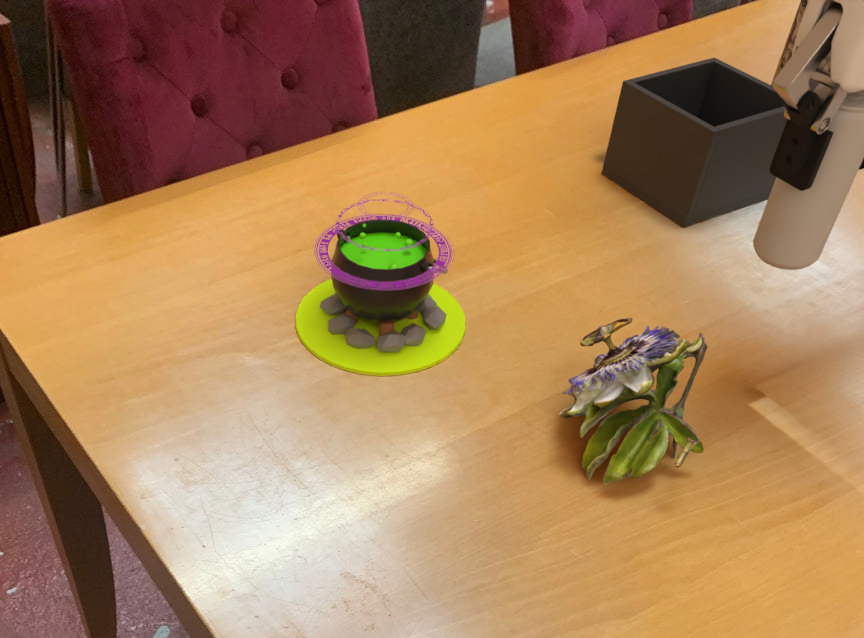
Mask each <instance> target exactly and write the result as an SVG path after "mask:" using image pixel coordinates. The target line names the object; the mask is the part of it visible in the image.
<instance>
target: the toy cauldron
mask: <svg viewBox="0 0 864 638" xmlns="http://www.w3.org/2000/svg"><path fill="white" fill-rule="evenodd" d="M392 194H393V196H394V197H395V196H397V198H400V199H402V200H403V201H402V200H397V199H394V200H392V202H394V203H397V204H404V205H407V206H408V207H407V209H406V211H404V212H403V213H401V214H392V213H391V214H390V213H389V214H388V215H383V213H376V214H373V213H370V212H368V211H367V210H366V209H365V207H364V206H362V205H363V204H366V203H369V202H380V201H382V202H389V198H387V199H386V198H377V199H369V197H370V198H371V197H374V196H376V195H377V196H379V195H380V196H381V195H384V192H381V193H378V191H377V192H376V191H375V192H374V193H373V192H372V193H368V194H366V195H365V196H363V197H361V198H360V200H358V202H356V203H353V204H351V205H350V206H349V207H345V208H343V210H342V211H340V214H338V215H337V217H336V218H337V219H336V220H335V223H334V224H332V225H331V226H329V227H326V229H324V231H323V232H321V233H320V235H319V236H318V237H317V238H316V240H315V245H314V251H315V253H314V254H313V257H314V256H315V259H316V262H317V264H318V265H319V266H320V267H321V268H322V269H323V270H325V271H326V273H327V274H328V275H329V276H330V279H327V280H325V281H323V282H321V283H320V284H318V285H317V286H315V287H314V288H312V289H311V290H310V291H308V293H306V295H305V296H304V297H303V298H302V300H301V301H300V303H299V305H298V307H297V309H296V312H295V313H296V314H295V318H294V319H295V320H294V322H295V323H294V324H295V331H296V333H297V337H298V338H299V340H300V342H301V343H302V344H303V346H304V347H305V348H306V350H307V351H309V352H310V353H311V354H313V356H315V357H316V358H317V359H319V360H321V361H322V362H324V363H326V364H328V365H330V366H332V367H334V368H337V369H341V370H343V371H346V372H350V373H356V374H359V375H366V376H377V377H384V376H385V377H387V376H401V375H408V374H413V373H417V372H421V371H423V370H426V369H429V368H432V367H434V366H436V365H438V364H440V363H442V362H444V361H445V360H446V359H447V358H449V357H451V355H452V354H454V353H455V352H456V351H457V350H458V348H459V346H460V345H461V344H462V342H463V341H464V337H465V335H466V322H467V321H466V317H465V312H464V310H463V308H462V307H461V305H460V304H459V301H458V300H457V299H456V298H455V297H454V296H453V295H452V294H451V293H450V292H449V291H447V290H446V289H444V288H443V287H441V286H440V285H439V284H437V283H435V282H434V281H435V280H436V279H437V278H438V277H441V276H442V275H446V274H448V273H449V269H450V267H451V266H450V265H451V263H453V262H454V260H455V257H453V254H452V253H453V251H455V249H454V248H453V247H454V245H453V243H452V242H450V238H449V237H447V236H446V235H445V234H444V233H443V232H442V230H440V229H438V228H437V227H434V220H433V218H432V217H431V215H429V213H428V212H427V211H426V210H424V209H422V208H421V207H420V206H417V205H415V204H413V202H412V201H409V199H408V197H407V196H406V195H403V194H400V193H397V192H392V191H390V192H389V193H388V195H389V196H391V195H392ZM366 196H368V197H366ZM364 198H366V200H364ZM405 198H406V201H404V199H405ZM354 207H358V209H359V211H360V212H361V215H355V216H351V217H348V218H345V219H342V220H341V218H342V216H343V214H345V213H346V212H347V211H348V210H350V209H351V208H354ZM409 207H411V209H410V212H413V209H417V210H418V211H419V212H421V213H422V214H423V215H424V216H425V217H426V218H430V219H429V223H427V222H425V221H422V220H420V219H417V218H414V217H410V216H408V214H410V212H409ZM363 210H364V211H363ZM407 211H408V212H407ZM335 236H336V237H337V241H336V245H335V250H334V252H333V255H332V258H331V257H330V255H329V245H330V243H331V241H332V239H333V238H334V237H335ZM430 238H432V239H433V241H434V242H435V244H436V246H437V249H438V257H437V259H435V258H434V255H433V252H432V250H431V240H430Z"/></svg>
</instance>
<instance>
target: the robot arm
mask: <svg viewBox="0 0 864 638" xmlns="http://www.w3.org/2000/svg"><path fill="white" fill-rule="evenodd" d="M828 62H831V68H830V71H831V72H829V71H827V70H824V67H825V65H826V63H828ZM818 83H821V84H823V85H825V86H827V87H829V88H831V89H830V91H829V93H828V95H827V97H826V99H825V100H824V102H823V104H822V105H821V102H820V100H819V97H818V95H817V94H816V93H814V90H815V88H816V86H817V84H818ZM773 88H774V89H775V91H776V92H777V93H778V94H779V96H780V97H781V98H782V101H783V104H784V106H785V108H786V109H785V111H784V117H785V118H787V122H786V125H785V127H784V130H783V133H782V135H781V138H780V141H779V144H778V146H777V149H776V152H775V155H774V157H773V160H772V163H771V165H770V173H771V174H772V175H774V176H775V177H777V178H779V179H781V180H782V181H784V182H786V183H788V184H789V185H791V186H793V187H795V188H796V189H798V190H800V191H804V190H807V189H809V188H811V186H812V184H813V182H814V179H815V177H816V175H817V172H818V170H819V167H820V165H821V162H822V160H823V158H824V155H825V153H826V150H827V148H828V145H829V143H830V141H831V138H832V136H833V132H831V131H829V130H827V129H828V128H829V126H830V124H831V123H832V121H833V119H834V117H835V116H836V114H837V112H838V110H839V108H840V107H841V105H842V103H843V101H844V100H845V98H846V96H847V94H848V93H849V92H857V91H861V90H864V0H809V1H808V3H807V6H806V9H805V12H804V14H803V17H802V20H801V23H800V26H799V29H798V32H797V36H796V39H795V42H794V46H793V51H792V56H791V58H790V59H789V60H788V62H787V63H786V64H785V66H784V67H783V68H782V70H781V71H780V72H779V73H778V75H777V76H776V78H775V79H774V82H773ZM860 170H861V171H862V170H864V158H863V161H862V163H861V165H860V167H859V170H858V171H860Z"/></svg>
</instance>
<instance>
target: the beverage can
mask: <svg viewBox="0 0 864 638" xmlns="http://www.w3.org/2000/svg"><path fill="white" fill-rule="evenodd" d="M830 89H831V88H829V87H827V86H825V85H823V84H821V83H818V84H817V86H816V88H815V90H814V93H816V94H817V95H818V97H819V100H820V102H821V105H822V104H823V102H824V100H825V99H826V97H827V95H828V93H829V91H830ZM827 130H829V131H831V132H833V136H832V138H831V141H830V143H829V145H828V148H827V150H826V153H825V155H824V158H823V160H822V162H821V165H820V167H819V170H818V172H817V175H816V177H815V179H814V182H813V184H812V186H811V188H809V189H807V190H804V191H800V190H798V189H796V188H795V187H793V186H791V185H789V184H788V183H786V182H784V181H782V180H781V179H779V178H777V177H776V179H775V182H774V185H773V187H772V190H771V193H770V195H769V198H768V199H767V201H766V204H765V206H764V209H763V212H762V215H761V217H760V220H759V223H758V226H757V228H756V231H755V235H754V237H753V239H752V245H753V249H754V251H755V253H756V255H757V257H758V258H759V259H760V260H761V261H762V262H763V263H765V264H767V265H768V266H771V267H773V268H776V269H779V270H787V271H797V270H802V269H805V268H807V267H810V266H811V265H813V264H815V263H816V262H817V261H818V260H819V259H820V257H821V255H822V253H823V250H824V248H825V246H826V244H827V241H828V239H829V237H830V235H831V232H832V230H833V228H834V226H835V224H836V221H837V220H838V217H839V215H840V213H841V210H842V208H843V205H844V203H845V201H846V199H847V197H848V194H849V192H850V190H851V187H852V185H853V183H854V181H855V179H856V176H857V174H858V172H859V171H860V170H859V167H860V165H861V163H862V161H863V158H864V90H861V91H857V92H849V93H848V94H847V96H846V98H845V100H844V101H843V103H842V105H841V107H840V108H839V110H838V112H837V114H836V116H835V117H834V119H833V121H832V123H831V124H830V126H829V128H828V129H827Z"/></svg>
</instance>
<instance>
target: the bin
mask: <svg viewBox="0 0 864 638" xmlns="http://www.w3.org/2000/svg"><path fill="white" fill-rule="evenodd" d="M785 109H786V108H785V106H784V104H783V101H782V98H781V97H780V96H779V94H778V93H777V92H776V91H775V89H774V88H773V86H771V84H769V83H768V82H766V81H763V80H761V79H759V78H757V77H755V76H753V75H751V74H749V73H747V72H745V71H743V70H741V69H738V68H737V67H735V66H732V65H731V64H728V63H726V62H724V61H722V60H720V59H718V58H717V57H711V58H707V59H703V60H702V59H701V60H699V61H695V62H690V63H688V64H684V65H678V66H676V67H673V68H668V69H664V70H660V71H657V72H653V73H652V72H651V73H649V74H645V75H641V76H638V77H637V76H636V77H633V78H630V79H625V80H623V81H622V84H621V88H620V92H619V97H618V100H617V105H616V109H615V114H614V118H613V122H612V125H611V130H610V135H609V139H608V143H607V148H606V152H605V157H604V161H603V164H602V168H601V175H603V176H604V177H606V178H608V179H609V180H610V181H612V182H614V184H617V185H618V186H620V187H621V188H622V189H624V190H626V191H627V192H629V193H630V194H632V195H633V196H635V197H636V198H638V199H639V200H641V201H642V202H643V203H644V204H645V203H646V204H647V205H648V206H650V207H651V208H653V209H654V210H656V211H657V212H659V213H660V214H662V215H663V216H664V217H667V218H668V219H670V220H671V221H672V222H674V223H676V224H677V225H679V226H680V227H681V228H687V227H690V226H693V225H695V224H698V223H701V222H705V221H708V220H710V219H714V218H716V217H719V216H722V215H725V214H728V213H731V212H733V211H736V210H739V209H742V208H745V207H749V206H751V205H755V204H757V203H760V202H763V201H765V200H768V198H769V195H770V193H771V190H772V187H773V185H774V182H775V179H776V177H775V176H774V175H772V174H771V173H770V165H771V163H772V160H773V157H774V155H775V152H776V149H777V146H778V144H779V141H780V138H781V135H782V133H783V130H784V127H785V125H786V122H787V118H785V117H784V111H785Z"/></svg>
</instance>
